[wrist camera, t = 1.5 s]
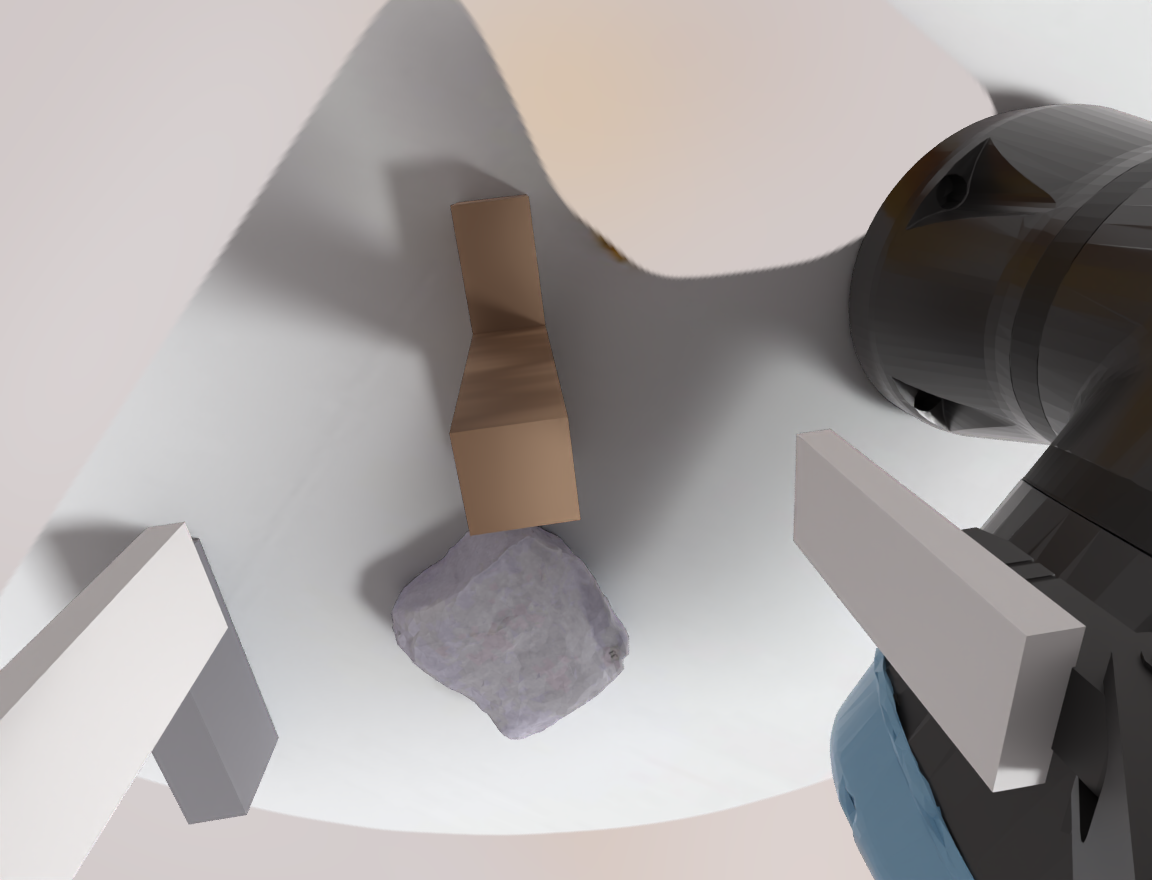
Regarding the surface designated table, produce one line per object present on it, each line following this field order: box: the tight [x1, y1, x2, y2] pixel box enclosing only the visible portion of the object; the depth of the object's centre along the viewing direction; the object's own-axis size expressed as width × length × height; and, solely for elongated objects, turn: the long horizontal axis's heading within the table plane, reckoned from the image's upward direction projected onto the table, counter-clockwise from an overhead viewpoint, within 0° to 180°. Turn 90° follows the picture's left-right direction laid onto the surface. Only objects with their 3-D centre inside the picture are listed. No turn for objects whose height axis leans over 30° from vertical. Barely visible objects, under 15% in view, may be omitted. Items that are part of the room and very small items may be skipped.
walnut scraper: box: [449, 194, 581, 536], centre depth 23 cm, size 3×13×15 cm, turn 6°
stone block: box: [391, 526, 629, 739], centre depth 35 cm, size 12×5×10 cm
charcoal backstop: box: [152, 539, 278, 824], centre depth 33 cm, size 3×14×5 cm, turn 6°
